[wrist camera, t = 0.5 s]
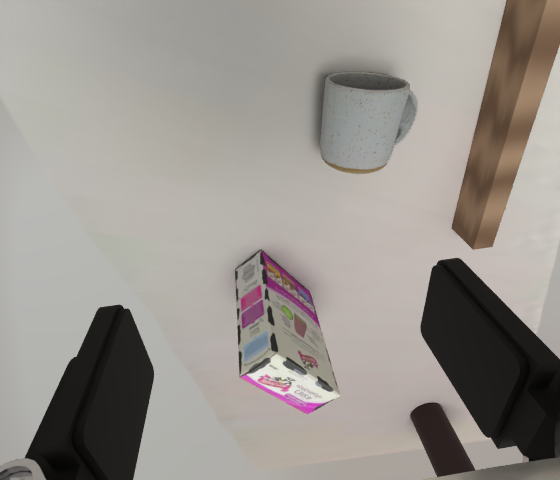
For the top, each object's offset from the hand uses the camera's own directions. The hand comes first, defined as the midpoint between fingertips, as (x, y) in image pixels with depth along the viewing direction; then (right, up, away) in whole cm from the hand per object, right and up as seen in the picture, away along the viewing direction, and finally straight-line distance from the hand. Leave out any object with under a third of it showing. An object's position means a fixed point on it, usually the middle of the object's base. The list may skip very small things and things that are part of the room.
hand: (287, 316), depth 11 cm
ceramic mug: (+8, +16, +26) cm, 32 cm away
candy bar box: (-1, -3, +38) cm, 38 cm away
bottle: (+31, -34, +64) cm, 78 cm away
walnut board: (+23, +17, +28) cm, 40 cm away
